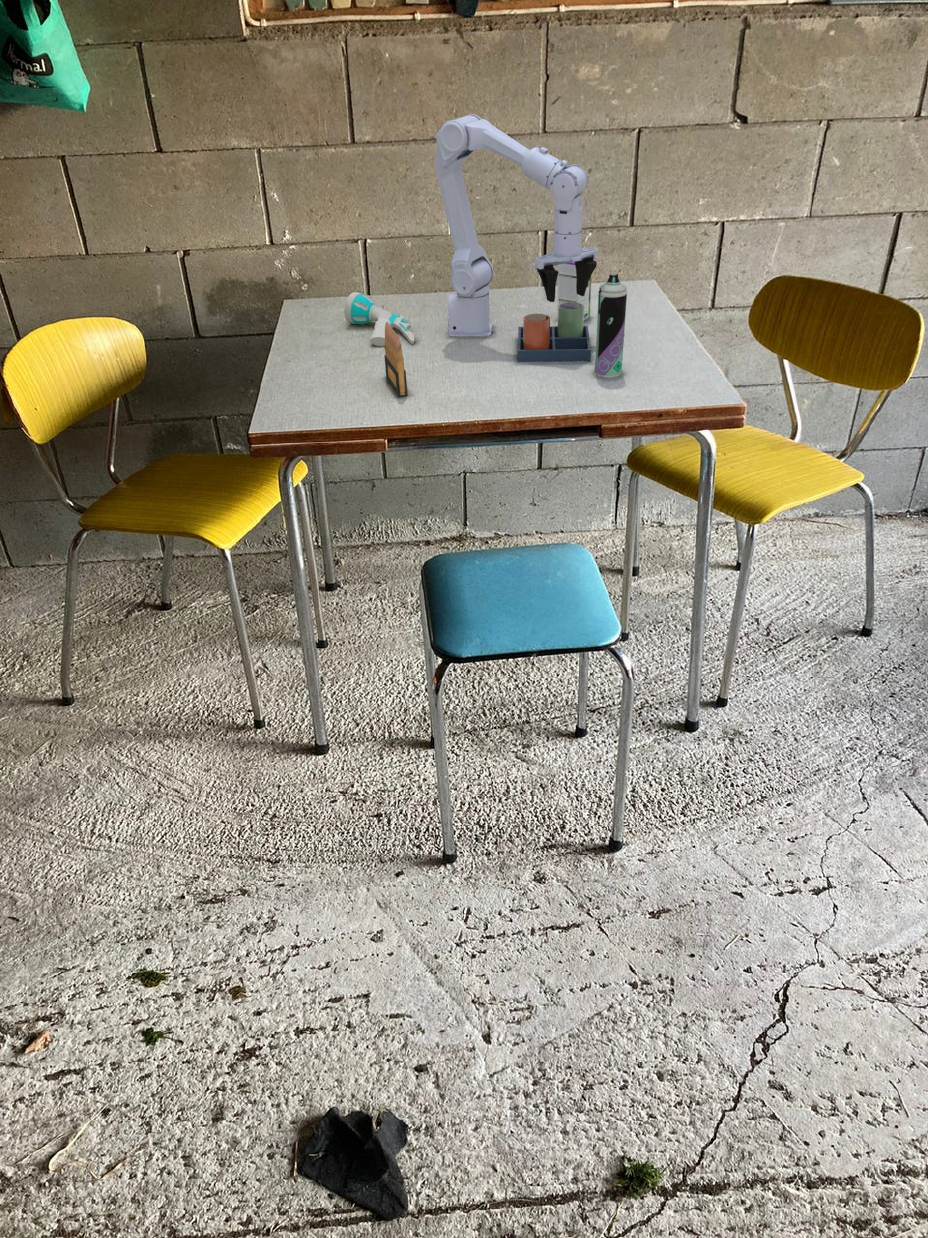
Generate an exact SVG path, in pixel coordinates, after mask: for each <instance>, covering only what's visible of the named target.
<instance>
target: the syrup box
mask: <svg viewBox="0 0 928 1238" xmlns="http://www.w3.org/2000/svg"><path fill="white" fill-rule="evenodd" d="M557 271H558V272H559V273H558V276H557V306H556V307H557V310H556V311H557V313H556V314H557V317H556V318H557V320H558V306H559V305H560V304H562V303H568V302H574V303H580V304H583V305H584V320H587V319H588V318H591V299H592V297H591V296H592V295H591V293H592V276H591V277H590V279H589V282H588V285H587V288H586V291H585V295H584V296H580V295H578V294H577V291H576V281H577V276H576V267H575V262H571V263H566V264H560V265H557Z"/></svg>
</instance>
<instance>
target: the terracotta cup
mask: <svg viewBox="0 0 928 1238" xmlns="http://www.w3.org/2000/svg"><path fill="white" fill-rule="evenodd" d="M522 325H523V326H522V327H523V350H549V348H550V326H551V317H550V315H548V314H545V313H530V314H526V315H523V318H522Z"/></svg>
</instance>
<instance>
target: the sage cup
mask: <svg viewBox="0 0 928 1238" xmlns="http://www.w3.org/2000/svg"><path fill="white" fill-rule="evenodd" d="M557 307H558V310H557V311H558V319H557V326H558V330H557V338H559V337H583V326H584V322H585V321H584V305H583V304H580V303H574V302H568V303H562V304H560V305H559V306H558V305H557Z"/></svg>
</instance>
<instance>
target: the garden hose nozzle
mask: <svg viewBox="0 0 928 1238" xmlns="http://www.w3.org/2000/svg"><path fill="white" fill-rule="evenodd" d="M343 312H344V318H345V320H346V322H347V323H350V324H353V325H367V324H370V323H371V322H375V323H374V327H373V328H374V329H373V330H372V334H371V336H370V343H371V344H373V345H374V346H378V347H385V324H386V322H388V324H389V325H390V327H392V328H396V329H397V330H399V331H400V333H401V334H402V335H403V336H404V337H405V338H406V340H407V341H408V342H409V343H410V345H414V344H415V338H416V337H415V334H414V333H413V332H412V331H411V330H410V329H411V321H410V320H409V319H406V318H405V316H404V315H401V314H395V313H392V312H389V311H388V310H387V311H386V310H385V309H382V308H380V307H378V305H376V304H375V302H374V301H373V299H371V298H370V297H369V296H366V295H364V294H363V293H361V292H357V291H353V292H351V293H350V294H349V295H348V297H347V299H346V300H345V303H344V310H343Z"/></svg>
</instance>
